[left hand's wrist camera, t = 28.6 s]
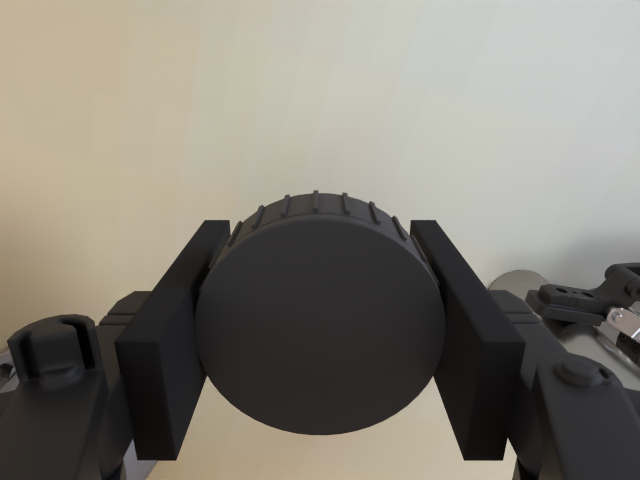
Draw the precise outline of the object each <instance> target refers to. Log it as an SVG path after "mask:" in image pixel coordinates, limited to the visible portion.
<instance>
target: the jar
mask: <svg viewBox="0 0 640 480" xmlns="http://www.w3.org/2000/svg"><path fill="white" fill-rule="evenodd" d="M547 284H549V283H548V282H547V281H546V280H545V279H544V278H543V277H542V276H540V275H539V274H537V273H535V272H532V271H527V270H518V271H512V272H509V273H506V274H504V275H502V276H501V277H499V278H498V279H497V280H495V281H494V282H493V283H492V285H491V286H490V287H489V289H488V290H507V291H509V292H511V293H512V294H514V295H516V296H517V297H519V298H521V299H522V300H523V301H524V302H525V298H526V295H527V293H528V290H530V289H532V290H538V291H539V289H540V287H541V286H542V285H547ZM525 303H526V302H525ZM526 304H527V303H526ZM530 309H531V308H530ZM531 310H532V309H531ZM532 311H533V310H532ZM533 314H536V313H535V312H534V311H533ZM536 316H537V317H538V318H539V319H540V320H541V321H542V324H544V325H545V326H546V327H547V328H548V329H549V330H550V332H551V333H552V334H553V335H554V336H555V337H556V339H557V340H558V341H559V342H560V343H561V344H562V345H563V347H564V348H565V349H566V350H567V351H568V352H569V353H573V354H577V355H581V356H585V357H588V358H590V359H592V360H594V361H597V362H599V363H601V364H602V365H604V366H605V367H607V368H608V369H610V370H611V371H613V372H614V374H615V375H616V376H617V377H618V379H619V380H620V381H621V383H622V385H623V387H625V388H628V389H632V390H637V391H640V368H639V367H638V366H637V365H636V364H635V363H634V362H633V361H632V360H631V359H630V358H629V357H628V356H627V355H625V354H624V353H623V352H622V351H621V350H620V349H619V348H618V347H617V346H616V345H615V344H614V343H613V342H612V341H610V340H609V339H608V338H607V337H606V336H605V335H604V334H603V333H602V332H601V331H600V330H599V329H598V328H596V327H595V326H594V325H587V324H582V323H575V322H568V321H562V320H556V319H549V318H544V317H541V316H539V315H537V314H536Z"/></svg>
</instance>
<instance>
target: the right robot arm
mask: <svg viewBox="0 0 640 480" xmlns="http://www.w3.org/2000/svg"><path fill="white" fill-rule="evenodd" d="M605 278H606V280H605V281H604V282H603V283H602V285H601V286H599V287H598V288H596V289H591V290H584V289H577V288H571V287H565V286H559V285H553V284H547V285H542V286H541V287H540V289H539V291H538V290H532V289H530V290H528V293H527V295H526V298H525V302H526V303H527V305H528V306H529V307H530V308H531V309H532V310H533V311H534V312H535V313H536V314H537V315H539V316H541V317H544V318H549V319H556V320H562V321H568V322H575V323H582V324H587V325H594V326H600V324H601V322H602V321H606V322H607V323H608V324H609V325H610V326H612V327H614V328H616V329H617V330H619V331H621V332H620V334H619V336H618V338H617V342H616V346H617V347H618V348H619V349H620V350H621V351H622V352H623V353H624V354H625V355H627V356H628V357H629V358H630V359H631V360H632V361H633V362H634V363H635V364H636V365H637V366H638V367H639V368H640V312H638V311H637V310H635V309H633V308H632V307H630V306H631V305H632V304H633V303H634V302H635V301H640V263H625V264H614V265H611V266H610V267H609V268H608V269H607V270H606V272H605Z"/></svg>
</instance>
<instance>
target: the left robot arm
mask: <svg viewBox="0 0 640 480" xmlns="http://www.w3.org/2000/svg"><path fill="white" fill-rule="evenodd" d="M411 235H413V236H414V237H415V239H416V240H417V242H418V244H419V246H420V248H421V250H422V251H423V253H424V255H425V257H426V259H427V261H428V263H429V265H430V267H431V269H432V270H433V272H434V274H435V276H436V278H437V280H438V281H439V284H440V286H438V288H439V291H440V294H441V297H442V300H443V303H444V308H445V313H446V328H445V337H444V345H443V353H442V357H441V360H440V362H439V365H438V367H437V369H436V371H435V373H434V375H433V376H434V379H435V382H436V385H437V387H438V390H439V393H440V396H441V398H442V401H443V404H444V407H445V409H446V412H447V415H448V418H449V420H450V423H451V426H452V429H453V431H454V434H455V437H456V439H457V442H458V445H459V448H460V450H461V453H462V456H463V459H464V460H503V457H504V452H505V447H506V442H507V437H508V439H509V441H510V443H511V445H512V447H513V449H514V451H515V453H516V455H517V459H516V464H515V469H514V473H513V478H512V480H640V391H637V390H632V389H628V388H625V387H623V385H622V383H621V381H620V380H619V379H618V377H617V376H616V375H615V374H614V372H613V371H611V370H610V369H608V368H607V367H605V366H604V365H602V364H601V363H599V362H597V361H594V360H592V359H590V358H588V357H585V356H581V355H577V354H573V353H569V352H568V351H567V350H566V349H565V348H564V347H563V345H562V344H561V343H560V342H559V341H558V340H557V339H556V337H555V336H554V335H553V334H552V333H551V332H550V330H549V329H548V328H547V327H546V326H545V325H544V324H542V321H541V320H540V319H539V318H538V317H537V316H536V314H533V311H532V310H531V309H530V307H529V306H528V305H527V304H526V303H525V302H524V301H523V300H522V299H521V298H519V297H517V296H516V295H514V294H512V293H511V292H509V291H507V290H487V289H486V287H485V286H484V285H483V283H482V282H481V281H480V279H479V278H478V277H477V275H476V274H475V273H474V271H473V270H472V269H471V267H470V266H469V265H468V263H467V262H466V261H465V259H464V258H463V257H462V255H461V254H460V253H459V251H458V250H457V249H456V247H455V246H454V245H453V243H452V242H451V241H450V239H449V238H448V237H447V235H446V234H445V233H444V231H443V230H442V229H441V227H440V226H439V224H438V223H437V222H436V220H411V226H410V236H411ZM230 237H231V235H230V222H229V220H205V221H204V222H203V224H202V225H201V226H200V228H199V229H198V230H197V232H196V233H195V234H194V236H193V237H192V238H191V240H190V241H189V242H188V244H187V245H186V246H185V248H184V249H183V250H182V252H181V253H180V254H179V256H178V257H177V258H176V260H175V261H174V262H173V264H172V265H171V266H170V268H169V269H168V270H167V272H166V273H165V274H164V276H163V277H162V278H161V280H160V281H159V282H158V284H157V285H156V287H155V288H154V289H153V291H134V292H133V293H131V294H129V295H127V296H126V297H124V298H122V299H121V300H119V301H118V302H117V303H116V304H115V305H114V306H113V307H112V309H111V310H110V311H109V312H108V315H107V316H105V317H104V318H103V319H102V320H101V321H100V322H99V326H96V327H95V323H94V321H93V320H92V319H90V318H89V317H88V316H82V315H77V314H71V315H59V316H54V317H49V318H45V319H42V320H39V321H37V322H34V323H31V324H29V325H27V326H25V327H24V328H22V329H20V330H18V331H17V332H15V333H14V334H13V335H12V336H11V337H10V338H9V339H8V340H7V343H8V346H9V347H7V348H5V349H4V350H2V351H1V352H0V480H145V479H146V478H147V477H148V475H149V474H150V472H151V471H152V469H153V468H154V466H155V465H156V463H157V461H158V460H176V459H177V457H178V454H179V451H180V448H181V446H182V443H183V440H184V438H185V435H186V432H187V429H188V427H189V424H190V421H191V418H192V416H193V413H194V410H195V407H196V405H197V402H198V399H199V396H200V394H201V391H202V388H203V385H204V383H205V380H206V377H207V374H206V372H205V370H204V368H203V366H202V363H201V361H200V359H199V356H198V349H197V341H196V332H195V323H194V314H195V309H196V304H197V300H198V297H199V293H198V291H199V289H200V287H201V285H202V283H203V281H204V279H205V278H206V276H207V274H208V272H209V270H210V268H208V267H209V265H210V264H211V262H212V260H213V258H214V257H215V255H216V253H217V251H218V249H219V248H220V246H221V244H222V242H223V241H225V242H227V240H228V239H229V238H230Z"/></svg>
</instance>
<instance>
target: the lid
mask: <svg viewBox="0 0 640 480" xmlns="http://www.w3.org/2000/svg"><path fill="white" fill-rule="evenodd" d="M208 268H210V270H209V272H208V274H207V276H206V278H205V279H204V281H203V283H202V285H201V287H200V289H199V291H198V293H199V297H198V300H197V304H196V309H195V314H194V323H195V332H196V341H197V349H198V356H199V359H200V361H201V363H202V366H203V368H204V370H205V372H206V374H207V375H208V377H209V379H210V380H211V382H212V383H213V385H214V386H215V387H216V388H217V390H218V391H219V392H220V393H221V394H222V395H223V396H224V397H225V398H226V399H227V400H228V401H229V402H230V403H231V404H232V405H233V406H235V407H236V408H237V409H239V410H240V411H241V412H243V413H245V414H246V415H248V416H250V417H251V418H253V419H255V420H257V421H259V422H261V423H263V424H266V425H268V426H271V427H274V428H277V429H280V430H283V431H288V432H293V433H298V434H307V435H334V434H343V433H348V432H353V431H357V430H361V429H364V428H367V427H370V426H373V425H375V424H377V423H380V422H382V421H384V420H386V419H388V418H389V417H391V416H393V415H395V414H396V413H398V412H399V411H400V410H402V409H403V408H405V407H406V406H407V405H409V404H410V403H411V402H412V401H413V400H414V399H415V398H416V397H417V396H418V395H419V394H420V393H421V392H422V390H423V389H424V388H425V387H426V386H427V384H428V383H429V381H430V380H431V378H432V376H433V375H434V373H435V371H436V369H437V367H438V365H439V362H440V360H441V357H442V353H443V345H444V337H445V328H446V313H445V308H444V303H443V300H442V297H441V294H440V291H439V288H438V286H440V284H439V281H438V280H437V278H436V276H435V274H434V272H433V270H432V269H431V267H430V265H429V263H428V261H427V259H426V257H425V255H424V253H423V251H422V250H421V248H420V246H419V244H418V242H417V240H416V239H415V237H414V236H413V235H411V236H409V234H408V233H407V232H406V231H405V230H404V229H403V228H402V226H401V225H400V223H399V221H398V219H397V217H395V216H393V217H390V216H389V215H388V214H386V213H385V212H383V211H382V210H380V209H378V208H376V207H375V204H374V203H373V202H371V201H370V203H369V204H368V203H366V202H364V201H361V200H359V199H355V198H351V197H348V196H347V193H343V194H342V195H336V194H329V193H318V190H316V191H314V193H312V194H304V195H297V196H293V197H290V195H285V198H284V199H282V200H279V201H277V202H274V203H272V204H269V205H268V206H266V207H264V206H263V205H261V206H259V208H258V211H257V212H256V213H254V214H253V215H252V216H250V217H249V218H248V219H246V220H245V221H244V222H243V223H242V222H241V221H239V222H238V223H237V225H236V227H235V229H234V231H233V233H232V235H231V237H230V238H229V239H228V240H227V242H225V241H223V242H222V244H221V246H220V248H219V249H218V251H217V253H216V255H215V257H214V258H213V260H212V262H211V264H210V265H209V267H208Z"/></svg>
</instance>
